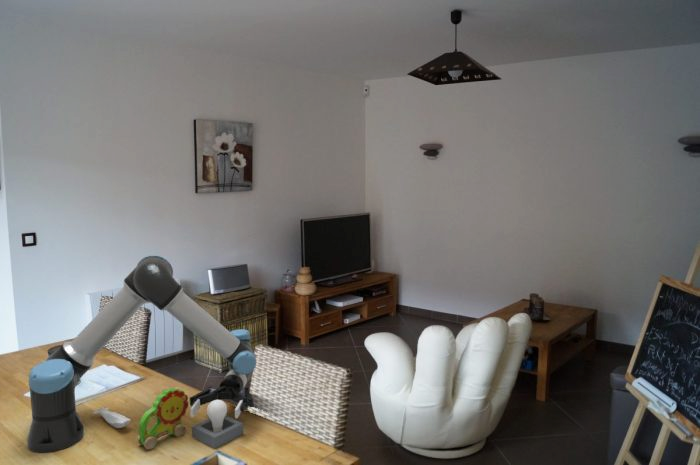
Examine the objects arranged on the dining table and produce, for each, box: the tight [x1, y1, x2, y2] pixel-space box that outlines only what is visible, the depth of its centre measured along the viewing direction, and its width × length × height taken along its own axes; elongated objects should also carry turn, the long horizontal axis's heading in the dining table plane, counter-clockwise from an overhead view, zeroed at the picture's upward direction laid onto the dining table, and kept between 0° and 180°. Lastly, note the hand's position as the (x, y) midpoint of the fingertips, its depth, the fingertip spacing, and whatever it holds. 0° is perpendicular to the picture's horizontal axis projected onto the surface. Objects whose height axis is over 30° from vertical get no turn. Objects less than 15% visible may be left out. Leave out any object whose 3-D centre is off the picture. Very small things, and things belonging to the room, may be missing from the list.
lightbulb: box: [206, 399, 228, 434], centre depth 165 cm, size 6×6×11 cm
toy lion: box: [136, 387, 190, 450], centre depth 163 cm, size 16×5×15 cm, turn 141°
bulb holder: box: [191, 415, 245, 450], centre depth 166 cm, size 11×11×4 cm
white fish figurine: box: [92, 407, 132, 429], centre depth 174 cm, size 6×18×4 cm, turn 50°
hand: (213, 413), depth 162 cm, fingers open, 13 cm apart
